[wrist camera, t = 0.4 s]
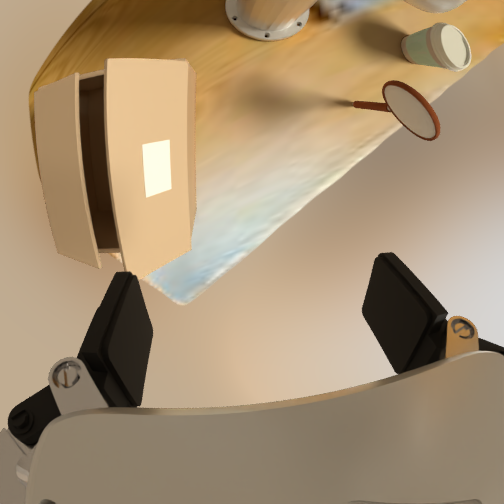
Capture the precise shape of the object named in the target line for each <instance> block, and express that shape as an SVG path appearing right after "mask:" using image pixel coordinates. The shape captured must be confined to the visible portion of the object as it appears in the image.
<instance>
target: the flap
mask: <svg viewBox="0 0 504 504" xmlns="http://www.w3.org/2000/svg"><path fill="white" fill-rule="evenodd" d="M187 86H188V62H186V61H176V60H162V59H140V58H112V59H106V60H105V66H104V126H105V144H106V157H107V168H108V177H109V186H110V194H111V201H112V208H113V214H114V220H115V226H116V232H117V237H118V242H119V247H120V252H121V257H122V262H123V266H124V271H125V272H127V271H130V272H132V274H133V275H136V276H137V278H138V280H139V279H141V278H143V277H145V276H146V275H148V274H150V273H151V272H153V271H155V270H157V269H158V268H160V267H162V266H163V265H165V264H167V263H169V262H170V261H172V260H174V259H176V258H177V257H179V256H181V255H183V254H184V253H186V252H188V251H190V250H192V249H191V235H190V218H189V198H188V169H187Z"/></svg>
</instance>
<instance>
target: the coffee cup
mask: <svg viewBox="0 0 504 504" xmlns="http://www.w3.org/2000/svg"><path fill="white" fill-rule="evenodd" d="M401 49H402V52H403V54H404V56H405V57H406V58H407V60H408V61H410V62H411V63H413V64H419V65H426V66H434V67H440V68H446V69H449V70H451V71H455V72H456V71H461V70H463V69H464V68H467V67H468V66H469V64H470V62H471V50H470V46H469V43H468V41H467V39H466V38H465V36H464V35H463V33H462V32H461V31H460V30H459V29H458V28H456V27H455V26H452V25H449V24H446V23H436V24H435V25H433V27H430V28H427V29H424V30H421V31H419V32H416V33H414V34H411V35H409V36H406V37H404V38H403V40H402V42H401Z"/></svg>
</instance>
